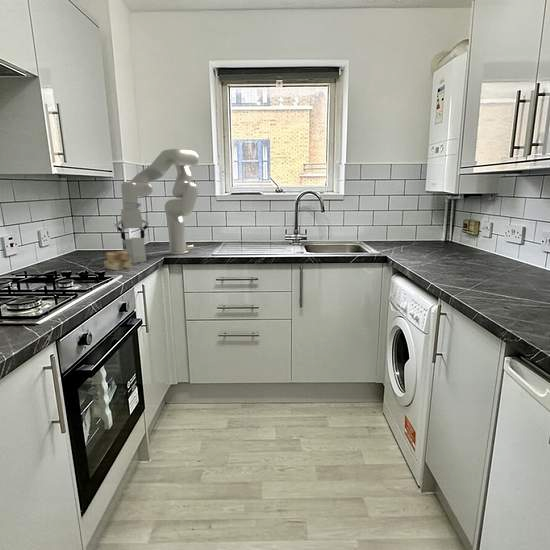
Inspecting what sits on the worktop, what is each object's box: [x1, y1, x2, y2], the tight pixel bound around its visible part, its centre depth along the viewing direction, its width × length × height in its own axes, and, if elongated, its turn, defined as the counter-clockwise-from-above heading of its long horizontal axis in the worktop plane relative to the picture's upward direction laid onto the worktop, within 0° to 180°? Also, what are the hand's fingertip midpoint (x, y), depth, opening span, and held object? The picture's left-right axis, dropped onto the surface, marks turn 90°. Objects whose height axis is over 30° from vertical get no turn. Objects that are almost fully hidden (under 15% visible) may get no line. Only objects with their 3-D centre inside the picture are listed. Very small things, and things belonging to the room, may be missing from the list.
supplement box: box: [125, 237, 147, 264], centre depth 207 cm, size 7×7×13 cm
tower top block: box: [105, 250, 130, 263], centre depth 193 cm, size 9×9×4 cm
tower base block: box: [103, 260, 134, 271], centre depth 194 cm, size 10×10×4 cm
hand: (133, 238), depth 205 cm, fingers open, 9 cm apart
